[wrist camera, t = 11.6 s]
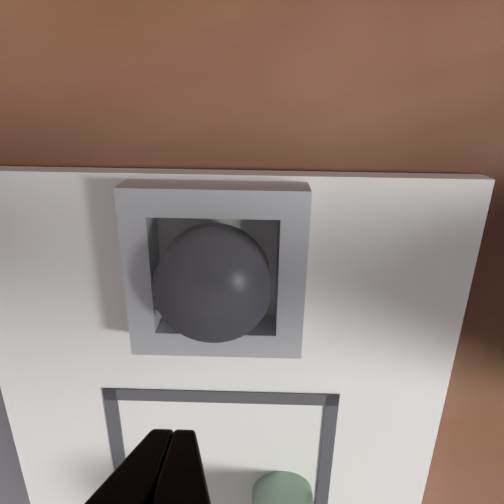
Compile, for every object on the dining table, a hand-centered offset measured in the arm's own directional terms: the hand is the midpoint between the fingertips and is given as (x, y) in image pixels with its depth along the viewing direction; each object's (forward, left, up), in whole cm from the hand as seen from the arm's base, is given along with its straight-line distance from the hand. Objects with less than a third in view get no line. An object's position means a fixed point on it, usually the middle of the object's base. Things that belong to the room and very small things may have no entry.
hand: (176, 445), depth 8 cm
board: (0, +6, -10) cm, 12 cm away
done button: (0, 0, -8) cm, 8 cm away
